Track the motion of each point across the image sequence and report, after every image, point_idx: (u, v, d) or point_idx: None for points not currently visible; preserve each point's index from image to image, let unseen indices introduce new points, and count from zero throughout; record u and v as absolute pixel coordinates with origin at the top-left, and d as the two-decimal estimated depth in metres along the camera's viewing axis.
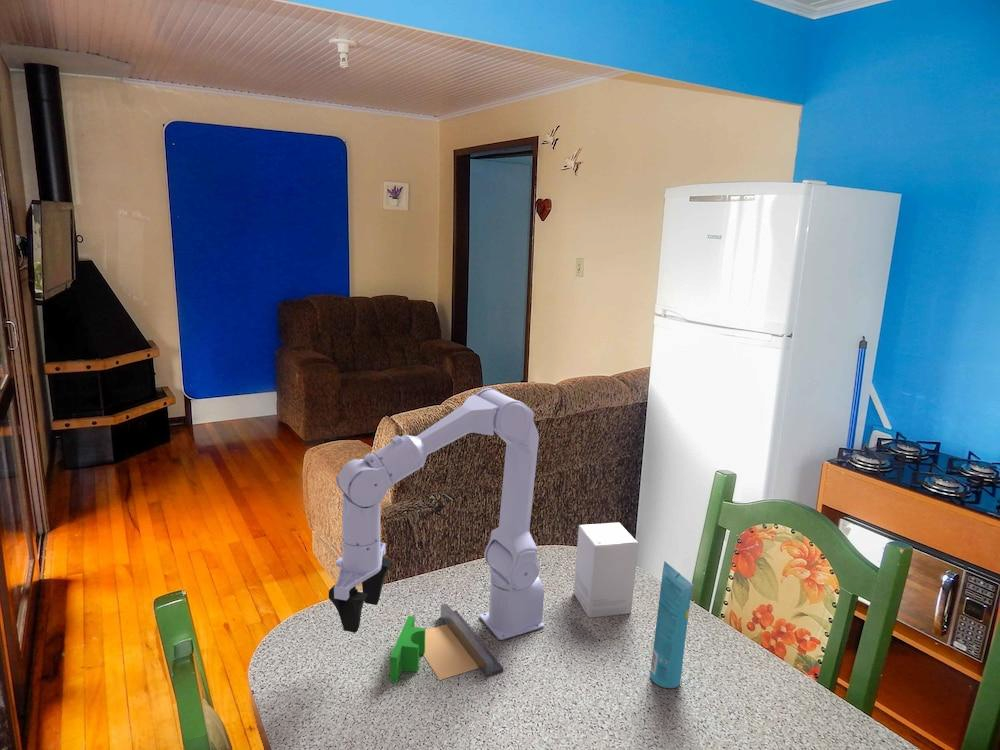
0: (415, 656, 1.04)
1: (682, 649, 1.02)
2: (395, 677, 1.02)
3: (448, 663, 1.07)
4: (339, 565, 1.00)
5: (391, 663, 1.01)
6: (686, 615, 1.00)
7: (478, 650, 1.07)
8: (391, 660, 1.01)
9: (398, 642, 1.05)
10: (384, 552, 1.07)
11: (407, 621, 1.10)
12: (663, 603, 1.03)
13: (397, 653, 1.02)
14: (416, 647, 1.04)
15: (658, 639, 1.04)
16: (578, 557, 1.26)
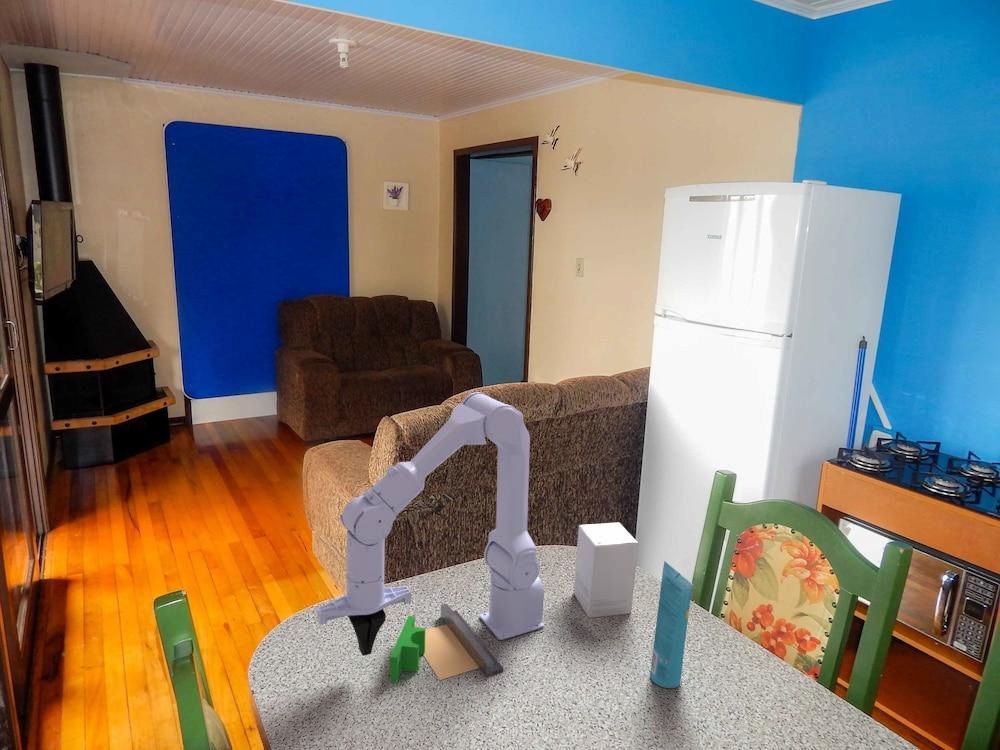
0: (415, 656, 1.04)
1: (682, 649, 1.02)
2: (395, 677, 1.02)
3: (448, 663, 1.07)
4: None
5: (391, 663, 1.01)
6: (686, 615, 1.00)
7: (478, 650, 1.07)
8: (392, 660, 1.01)
9: (398, 642, 1.05)
10: (408, 600, 1.03)
11: (407, 621, 1.10)
12: (663, 603, 1.03)
13: (397, 653, 1.02)
14: (416, 647, 1.04)
15: (658, 639, 1.04)
16: (578, 557, 1.26)
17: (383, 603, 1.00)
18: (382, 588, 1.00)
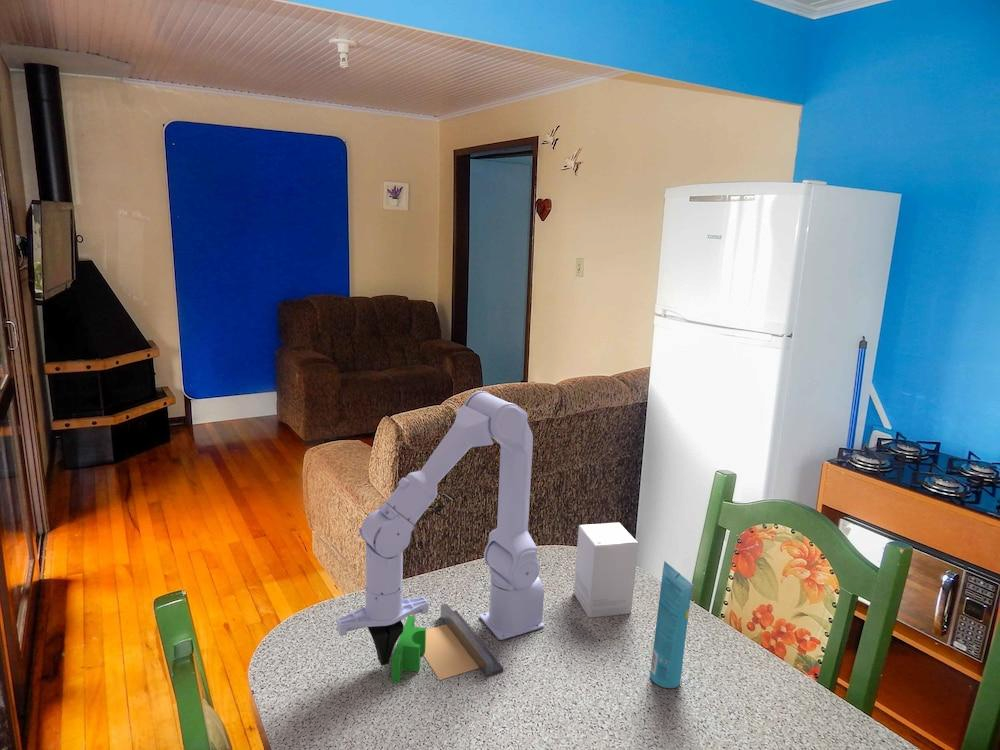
0: (417, 655, 1.04)
1: (682, 649, 1.02)
2: (397, 677, 1.02)
3: (448, 663, 1.07)
4: None
5: (393, 663, 1.01)
6: (686, 615, 1.00)
7: (478, 650, 1.07)
8: (393, 660, 1.01)
9: (399, 642, 1.05)
10: (425, 611, 1.06)
11: (407, 621, 1.10)
12: (663, 603, 1.03)
13: (399, 653, 1.02)
14: (417, 647, 1.04)
15: (658, 639, 1.04)
16: (578, 557, 1.26)
17: (401, 614, 1.02)
18: (400, 599, 1.02)
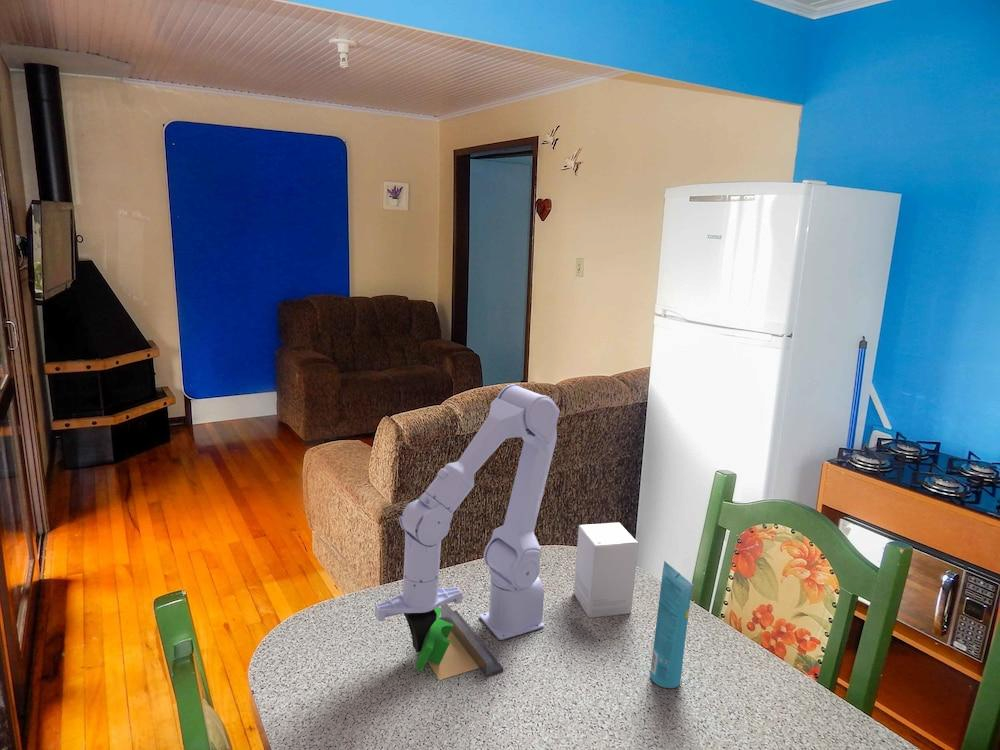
0: (444, 650, 1.06)
1: (682, 649, 1.02)
2: (422, 666, 1.03)
3: (448, 663, 1.07)
4: None
5: (424, 652, 1.03)
6: (686, 615, 1.00)
7: (478, 650, 1.07)
8: (426, 650, 1.03)
9: (431, 632, 1.06)
10: (459, 600, 1.08)
11: None
12: (663, 603, 1.03)
13: (432, 644, 1.04)
14: (448, 642, 1.06)
15: (658, 639, 1.04)
16: (578, 557, 1.26)
17: (437, 602, 1.05)
18: (437, 588, 1.05)
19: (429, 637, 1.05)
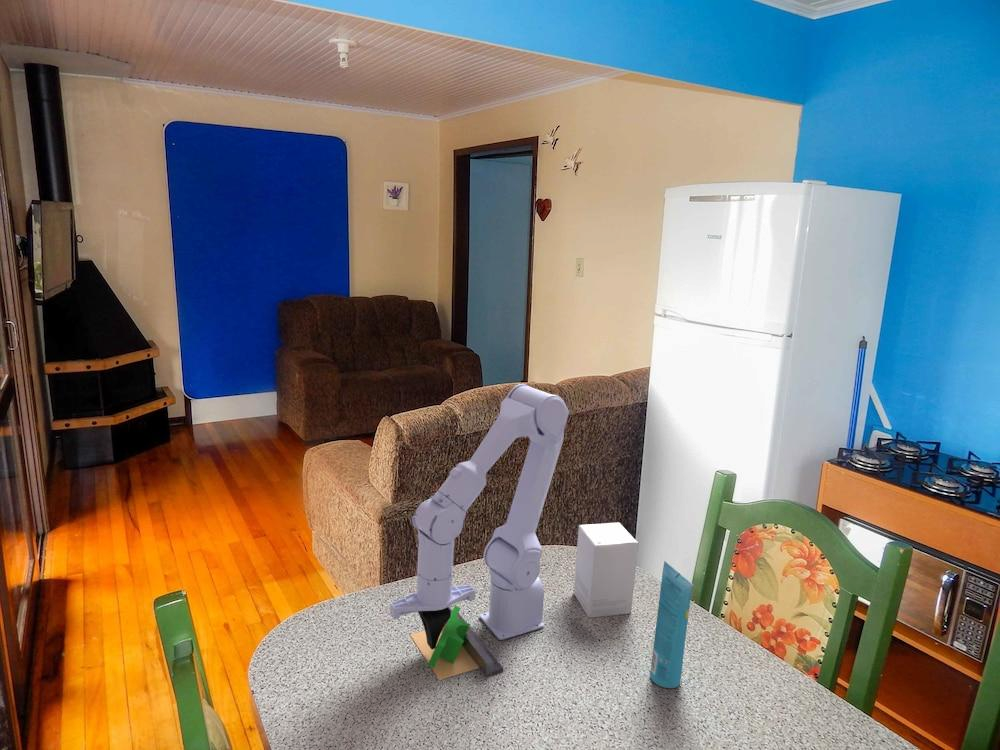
0: (457, 649, 1.06)
1: (682, 649, 1.02)
2: (434, 663, 1.04)
3: (448, 663, 1.07)
4: None
5: (436, 649, 1.04)
6: (686, 615, 1.00)
7: (478, 650, 1.07)
8: (438, 647, 1.03)
9: (445, 630, 1.07)
10: (472, 598, 1.10)
11: (454, 611, 1.12)
12: (663, 603, 1.03)
13: (444, 642, 1.04)
14: (461, 642, 1.06)
15: (658, 639, 1.04)
16: (578, 557, 1.26)
17: (451, 600, 1.06)
18: (450, 586, 1.06)
19: (442, 635, 1.06)
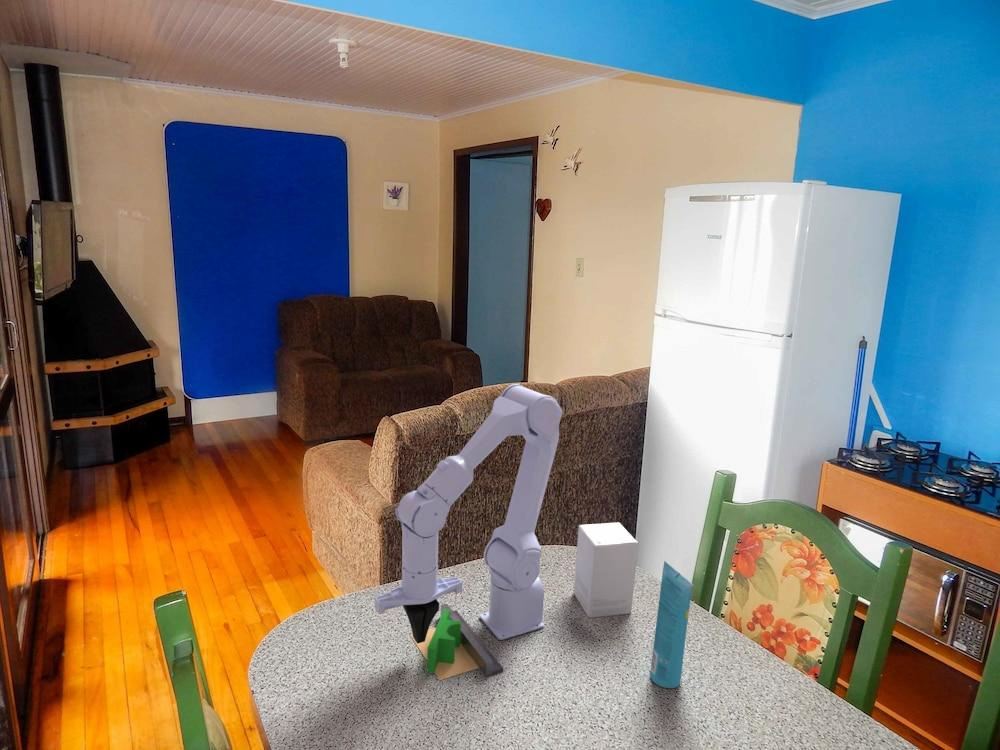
0: (452, 648, 1.06)
1: (682, 649, 1.02)
2: (432, 668, 1.04)
3: (448, 663, 1.07)
4: None
5: (428, 654, 1.04)
6: (686, 615, 1.00)
7: (478, 650, 1.07)
8: (429, 651, 1.04)
9: (435, 634, 1.07)
10: (459, 590, 1.08)
11: (443, 614, 1.13)
12: (663, 603, 1.03)
13: (434, 645, 1.05)
14: (452, 639, 1.06)
15: (658, 639, 1.04)
16: (578, 557, 1.26)
17: (437, 593, 1.04)
18: (436, 578, 1.04)
19: (432, 639, 1.06)
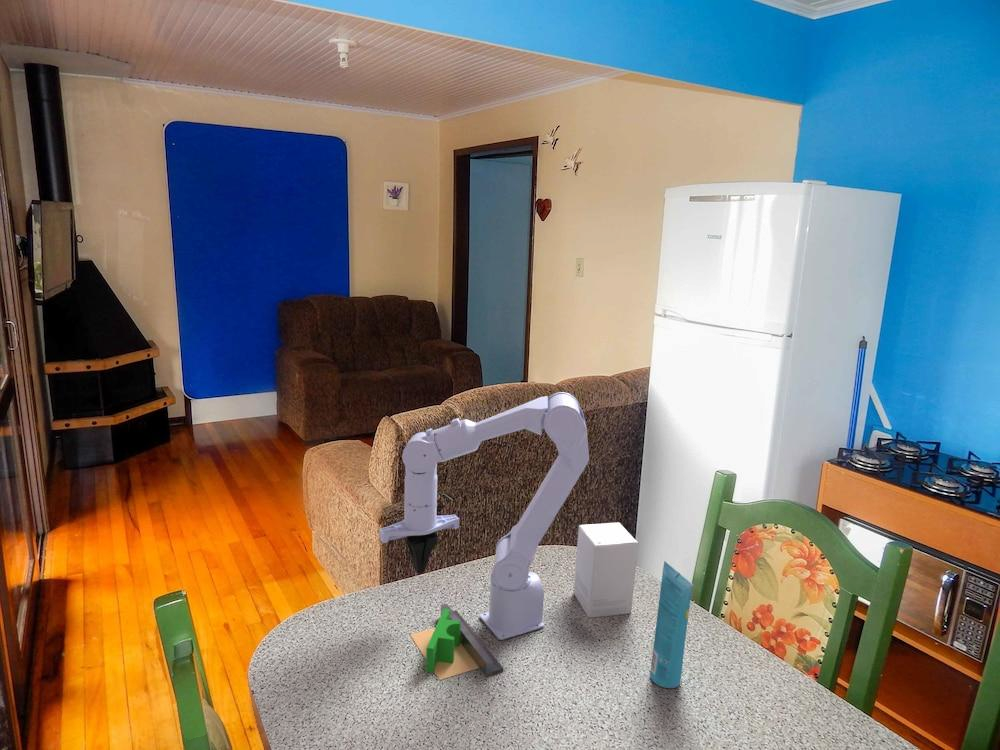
0: (451, 647, 1.07)
1: (682, 649, 1.02)
2: (431, 667, 1.04)
3: (448, 663, 1.07)
4: None
5: (427, 654, 1.04)
6: (686, 615, 1.00)
7: (478, 650, 1.07)
8: (428, 651, 1.04)
9: (434, 634, 1.07)
10: (456, 526, 1.18)
11: (443, 614, 1.13)
12: (663, 603, 1.03)
13: (433, 644, 1.05)
14: (452, 639, 1.06)
15: (658, 639, 1.04)
16: (578, 557, 1.26)
17: (436, 526, 1.15)
18: (435, 513, 1.14)
19: (431, 638, 1.06)
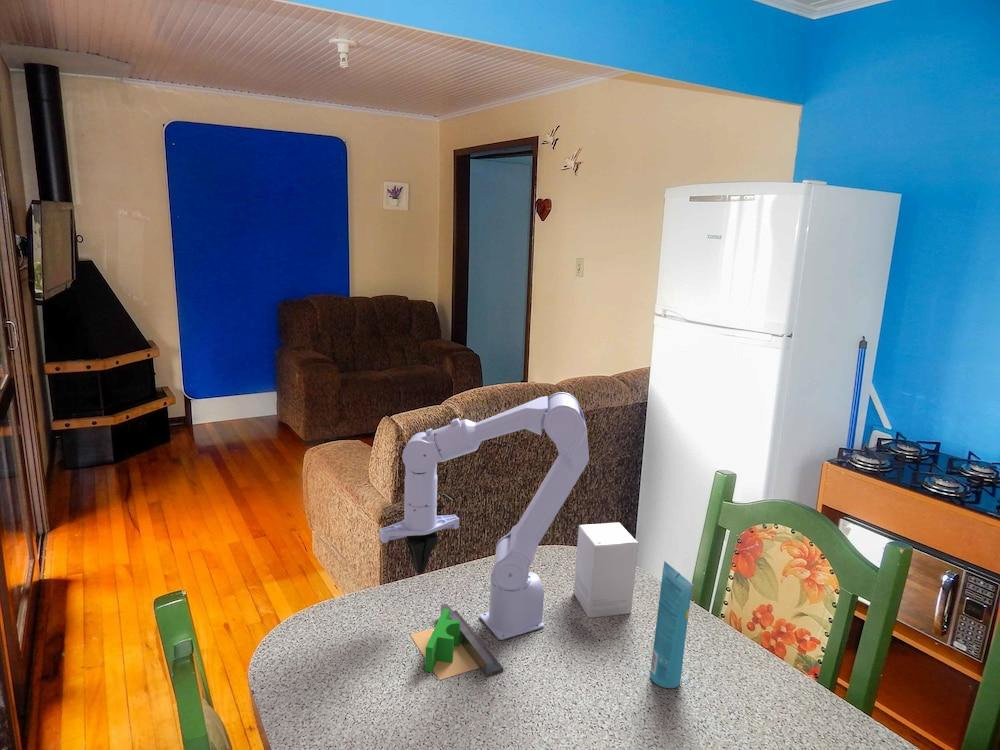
0: (450, 647, 1.07)
1: (682, 649, 1.02)
2: (430, 667, 1.05)
3: (448, 663, 1.07)
4: None
5: (427, 653, 1.04)
6: (686, 615, 1.00)
7: (478, 650, 1.07)
8: (427, 650, 1.04)
9: (434, 633, 1.07)
10: (456, 526, 1.18)
11: (442, 613, 1.13)
12: (663, 603, 1.03)
13: (433, 644, 1.05)
14: (451, 639, 1.06)
15: (658, 639, 1.04)
16: (578, 557, 1.26)
17: (436, 526, 1.15)
18: (435, 513, 1.14)
19: (431, 638, 1.06)
